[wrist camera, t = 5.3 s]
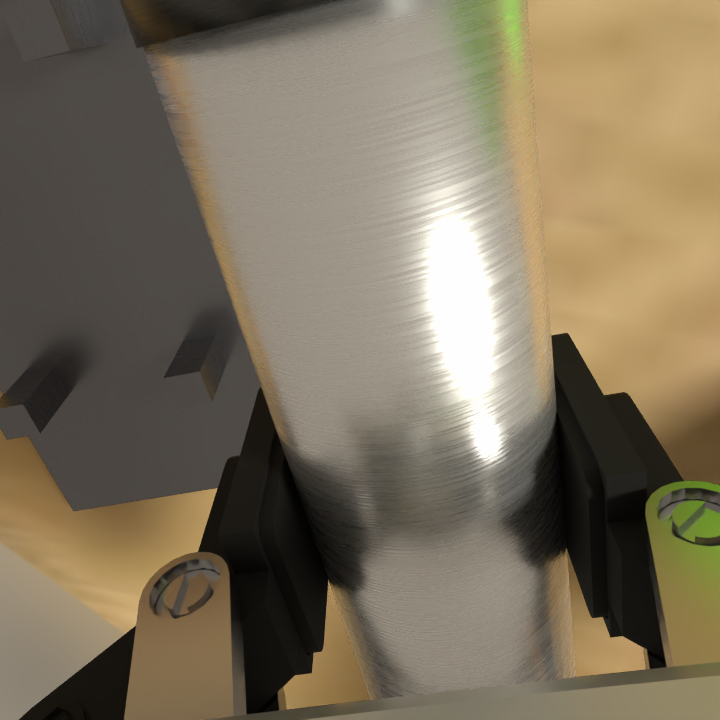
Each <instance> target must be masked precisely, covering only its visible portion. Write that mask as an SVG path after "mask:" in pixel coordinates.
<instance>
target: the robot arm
mask: <svg viewBox="0 0 720 720" xmlns="http://www.w3.org/2000/svg"><path fill="white" fill-rule="evenodd" d="M551 339H552V353H553V367H554V380H555V394H556V408H557V422H558V436H559V449H560V463H561V477H562V490H563V504H564V518H565V532H566V545H567V550H568V553H569V556H570V559H571V562H572V564H573V567H574V570H575V573H576V576H577V579H578V582H579V584H580V587H581V590H582V593H583V596H584V599H585V602H586V604H587V607H588V610H589V613H590V615H591V617H592V618H597V617H603V618H604V621H605V624H606V626H607V629H608V632H609V635H610V637H618V636H624V637H625V638H627V639H629V640H631V641H633V642H634V643H636V644H638V645H640V646H642V647H643V648H644V650H643V653H644V660H645V667H646V670H638V671H628V672H619V673H610V674H600V675H591V676H582V677H572V678H563V679H554V680H544V681H535V682H526V683H517V684H508V685H499V686H490V687H481V688H472V689H463V690H454V691H445V692H436V693H428V694H419V695H410V696H401V697H392V698H384V699H375V700H366V701H357V702H348V703H340V704H331V705H323V706H314V707H306V708H297V709H289V710H287V708H286V699H285V693H284V689H283V686H284V685H285V684H286V683H287V682H288V681H289V680H290V679H291V678H292V677H293V676H294V675H300V674H308V673H312V663H313V653H314V652H321V651H322V649H323V644H324V631H325V618H326V604H327V590H328V577H327V574H326V571H325V568H324V565H323V562H322V560H321V557H320V554H319V551H318V548H317V545H316V542H315V540H314V537H313V534H312V531H311V528H310V525H309V522H308V520H307V517H306V514H305V511H304V508H303V505H302V502H301V499H300V497H299V494H298V491H297V488H296V485H295V482H294V479H293V477H292V474H291V471H290V468H289V465H288V462H287V459H286V457H285V454H284V451H283V448H282V445H281V442H280V439H279V437H278V434H277V431H276V428H275V425H274V422H273V419H272V416H271V414H270V411H269V408H268V405H267V402H266V399H265V396H264V394H263V391H262V388H261V387H260V388H259V390H258V393H257V397H256V400H255V404H254V407H253V411H252V414H251V418H250V421H249V425H248V429H247V432H246V436H245V439H244V443H243V446H242V450H241V453H240V455H239V456H233V457H230V458H228V459H227V462H226V464H225V466H224V470H223V473H222V476H221V479H220V483H219V486H218V489H217V492H216V496H215V499H214V502H213V505H212V508H211V512H210V515H209V518H208V521H207V525H206V528H205V531H204V534H203V538H202V541H201V544H200V547H199V550H198V552H195V553H190V554H186V555H183V556H181V557H179V558H176V559H174V560H172V561H171V562H169V563H168V564H166V565H165V566H163V567H162V568H160V569H159V570H158V571H157V572H156V573H155V574H154V575H153V576H152V577H151V578H150V580H149V581H148V583H147V584H146V586H145V588H144V589H143V591H142V595H141V598H140V601H139V607H138V615H137V623H136V626H135V627H134V628H132V629H131V630H130V631H129V632H127V633H126V634H125V635H124V636H122V637H121V638H120V639H118V640H117V641H116V642H115V643H113V644H112V645H111V646H110V647H108V648H107V649H106V650H105V651H103V652H102V653H101V654H99V655H98V656H97V657H96V658H94V659H93V660H92V661H91V662H90V663H88V664H87V665H86V666H84V667H83V668H82V669H81V670H79V671H78V672H77V673H75V674H74V675H73V676H72V677H70V678H69V679H68V680H67V681H65V682H64V683H63V684H62V685H60V686H59V687H58V688H57V689H55V690H54V691H53V692H51V693H50V694H49V695H48V696H46V697H45V698H44V699H42V700H41V701H40V702H39V703H37V704H36V705H35V706H34V707H32V708H31V709H30V710H29V711H28V712H27V713H26V714H25V715H24V716H23V717H21V718H20V719H19V720H720V485H716V484H713V483H709V482H701V481H684V480H683V479H682V477H681V476H680V474H679V473H678V471H677V469H676V468H675V466H674V465H673V463H672V462H671V460H670V458H669V457H668V455H667V454H666V452H665V451H664V449H663V447H662V446H661V444H660V443H659V441H658V440H657V438H656V436H655V435H654V433H653V432H652V430H651V429H650V427H649V425H648V424H647V422H646V421H645V419H644V418H643V416H642V414H641V413H640V411H639V410H638V408H637V407H636V405H635V403H634V402H633V400H632V399H631V397H630V396H629V395H628V394H627V393H625V392H622V393H616V394H610V395H603V393H602V391H601V390H600V388H599V386H598V384H597V383H596V381H595V379H594V378H593V376H592V374H591V372H590V371H589V369H588V367H587V365H586V364H585V362H584V360H583V358H582V357H581V355H580V353H579V351H578V350H577V348H576V346H575V344H574V343H573V341H572V339H571V337H570V336H569V334H568V333H563V334H558V335H552V336H551Z"/></svg>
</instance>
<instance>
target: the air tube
mask: <svg viewBox="0 0 720 720" xmlns="http://www.w3.org/2000/svg"><path fill="white" fill-rule="evenodd" d="M120 3H121V6H122V9H123V12H124V14H125V17H126V20H127V23H128V26H129V29H130V31H131V34H132V37H133V40H134V43H135V46H136V48H141V47H143V50H144V53H145V56H146V59H147V62H148V64H149V67H150V70H151V73H152V76H153V79H154V82H155V84H156V87H157V90H158V93H159V96H160V99H161V102H162V105H163V107H164V110H165V113H166V116H167V119H168V122H169V125H170V127H171V130H172V133H173V136H174V139H175V142H176V145H177V147H178V150H179V153H180V156H181V159H182V162H183V165H184V167H185V170H186V173H187V176H188V179H189V182H190V185H191V188H192V190H193V193H194V196H195V199H196V202H197V205H198V208H199V210H200V213H201V216H202V219H203V222H204V225H205V228H206V230H207V233H208V236H209V239H210V242H211V245H212V248H213V250H214V253H215V256H216V259H217V262H218V265H219V268H220V271H221V273H222V276H223V279H224V282H225V285H226V288H227V291H228V293H229V296H230V299H231V302H232V305H233V308H234V311H235V313H236V316H237V319H238V322H239V325H240V328H241V331H242V333H243V336H244V339H245V342H246V345H247V348H248V351H249V354H250V356H251V359H252V362H253V365H254V368H255V371H256V374H257V376H258V379H259V382H260V385H261V388H262V391H263V394H264V396H265V399H266V402H267V405H268V408H269V411H270V414H271V416H272V419H273V422H274V425H275V428H276V431H277V434H278V437H279V439H280V442H281V445H282V448H283V451H284V454H285V457H286V459H287V462H288V465H289V468H290V471H291V474H292V477H293V479H294V482H295V485H296V488H297V491H298V494H299V497H300V499H301V502H302V505H303V508H304V511H305V514H306V517H307V520H308V522H309V525H310V528H311V531H312V534H313V537H314V540H315V542H316V545H317V548H318V551H319V554H320V557H321V560H322V562H323V565H324V568H325V571H326V574H327V577H328V580H329V582H330V585H331V588H332V591H333V594H334V597H335V600H336V603H337V605H338V608H339V611H340V614H341V617H342V620H343V623H344V625H345V628H346V631H347V634H348V637H349V640H350V643H351V645H352V648H353V651H354V654H355V657H356V660H357V663H358V665H359V668H360V671H361V674H362V677H363V680H364V683H365V686H366V688H367V691H368V694H369V697H370V700H375V699H384V698H392V697H401V696H410V695H419V694H428V693H436V692H445V691H454V690H463V689H472V688H481V687H490V686H499V685H508V684H517V683H526V682H535V681H544V680H554V679H563V678H572V677H576V668H575V654H574V640H573V627H572V613H571V599H570V586H569V572H568V558H567V545H566V532H565V518H564V504H563V490H562V477H561V463H560V449H559V436H558V422H557V408H556V394H555V380H554V367H553V353H552V339H551V325H550V312H549V298H548V284H547V271H546V257H545V243H544V230H543V216H542V202H541V189H540V175H539V161H538V147H537V134H536V120H535V106H534V93H533V79H532V65H531V52H530V38H529V24H528V11H527V0H120Z"/></svg>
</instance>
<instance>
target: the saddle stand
mask: <svg viewBox="0 0 720 720" xmlns="http://www.w3.org/2000/svg"><path fill="white" fill-rule="evenodd" d="M260 387H261V385H260V382H259V379H258V376H257V374H256V371H255V368H254V365H253V362H252V359H251V356H250V354H249V351H248V348H247V345H246V342H245V339H244V336H243V333H242V331H241V328H240V325H239V322H238V319H237V316H236V313H235V311H234V308H233V305H232V302H231V299H230V296H229V293H228V291H227V288H226V285H225V282H224V279H223V276H222V273H221V271H220V268H219V265H218V262H217V259H216V256H215V253H214V250H213V248H212V245H211V242H210V239H209V236H208V233H207V230H206V228H205V225H204V222H203V219H202V216H201V213H200V210H199V208H198V205H197V202H196V199H195V196H194V193H193V190H192V188H191V185H190V182H189V179H188V176H187V173H186V170H185V167H184V165H183V162H182V159H181V156H180V153H179V150H178V147H177V145H176V142H175V139H174V136H173V133H172V130H171V127H170V125H169V122H168V119H167V116H166V113H165V110H164V107H163V105H162V102H161V99H160V96H159V93H158V90H157V87H156V84H155V82H154V79H153V76H152V73H151V70H150V67H149V64H148V62H147V59H146V56H145V53H144V50H143V47H141V48H136V46H135V43H134V40H133V37H132V34H131V31H130V29H129V26H128V23H127V20H126V17H125V14H124V12H123V9H122V6H121V3H120V0H0V390H1V391H2V393H3V396H2V397H1V398H0V429H1V430H2V432H3V434H4V435H5V437H6V438H7V439H13V438H18V437H24V436H29V438H30V440H31V441H32V443H33V445H34V446H35V448H36V450H37V451H38V453H39V455H40V456H41V458H42V460H43V461H44V463H45V465H46V466H47V468H48V470H49V471H50V473H51V475H52V476H53V478H54V480H55V481H56V483H57V485H58V486H59V488H60V490H61V491H62V493H63V495H64V496H65V498H66V500H67V501H68V503H69V505H70V506H71V508H72V510H73V511H78V510H84V509H91V508H97V507H103V506H109V505H115V504H121V503H127V502H134V501H140V500H146V499H152V498H158V497H164V496H171V495H177V494H183V493H189V492H195V491H201V490H207V489H214V488H218V486H219V483H220V479H221V476H222V473H223V470H224V466H225V464H226V462H227V459H228V458H230V457H233V456H239V455H240V453H241V450H242V446H243V443H244V439H245V436H246V432H247V429H248V425H249V421H250V418H251V414H252V411H253V407H254V404H255V400H256V397H257V393H258V390H259V388H260Z"/></svg>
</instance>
